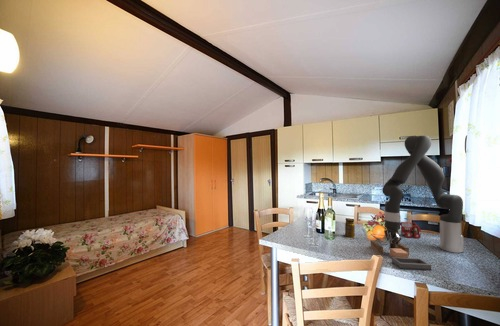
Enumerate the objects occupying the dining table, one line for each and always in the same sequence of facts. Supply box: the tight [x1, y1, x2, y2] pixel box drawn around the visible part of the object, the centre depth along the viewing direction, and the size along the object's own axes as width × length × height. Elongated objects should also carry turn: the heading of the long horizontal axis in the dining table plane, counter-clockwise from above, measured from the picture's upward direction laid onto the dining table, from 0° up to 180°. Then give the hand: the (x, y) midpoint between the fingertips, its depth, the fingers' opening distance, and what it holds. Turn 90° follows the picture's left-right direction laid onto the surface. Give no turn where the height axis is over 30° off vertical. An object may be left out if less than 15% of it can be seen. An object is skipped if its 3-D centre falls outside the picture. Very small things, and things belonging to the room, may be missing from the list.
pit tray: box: [391, 256, 432, 271], centre depth 102 cm, size 14×7×2 cm, turn 85°
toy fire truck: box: [400, 221, 422, 240], centre depth 145 cm, size 7×12×10 cm, turn 77°
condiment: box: [341, 218, 357, 240], centre depth 145 cm, size 7×8×12 cm
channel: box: [369, 239, 410, 256], centre depth 121 cm, size 16×10×4 cm, turn 85°
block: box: [389, 247, 409, 258], centre depth 112 cm, size 6×6×4 cm
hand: (392, 249), depth 117 cm, fingers closed
